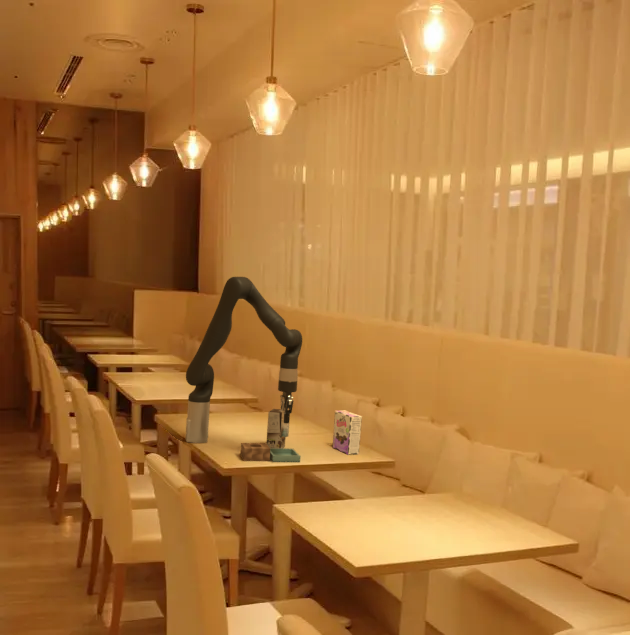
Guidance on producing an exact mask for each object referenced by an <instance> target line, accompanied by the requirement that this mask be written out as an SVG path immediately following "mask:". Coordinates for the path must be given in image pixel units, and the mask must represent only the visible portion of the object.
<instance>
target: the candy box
mask: <svg viewBox="0 0 630 635" xmlns="http://www.w3.org/2000/svg"><path fill="white" fill-rule="evenodd" d="M362 418H363V415H359V414H356V413H354V412H350V411H348V410H347V409H346V410H343V409H342V410H334V421H333V422H334V424H333V434H332V435H333V436H332V448H333V449H335V450H337V451H340V452H341V453H344V454H345V453H346V454H345V455H349V454H353V455H360V445H361V444H360V443H361V434H362V433H361V432H362Z"/></svg>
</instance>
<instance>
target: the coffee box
mask: <svg viewBox="0 0 630 635" xmlns="http://www.w3.org/2000/svg"><path fill="white" fill-rule="evenodd" d="M281 410H282V409H281V408H273V409H271V410H269V411H268V414H267V428H266V442H265V443H266V444H267V445H268V446H269V448H283V449H285V447H286V438H287V437H282V436H281V420H282V411H281Z"/></svg>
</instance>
